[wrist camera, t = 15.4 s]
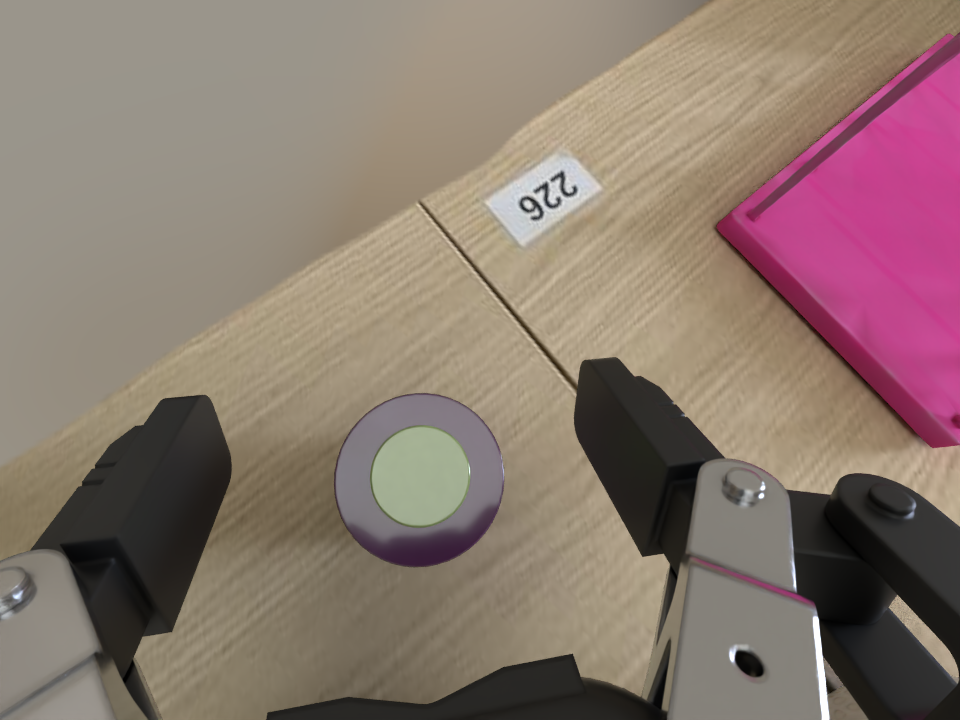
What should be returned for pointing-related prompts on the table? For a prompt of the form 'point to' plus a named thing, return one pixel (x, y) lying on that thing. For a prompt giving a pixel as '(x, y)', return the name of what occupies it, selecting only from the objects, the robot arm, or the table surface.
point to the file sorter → (877, 240)
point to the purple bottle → (419, 480)
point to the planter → (847, 705)
